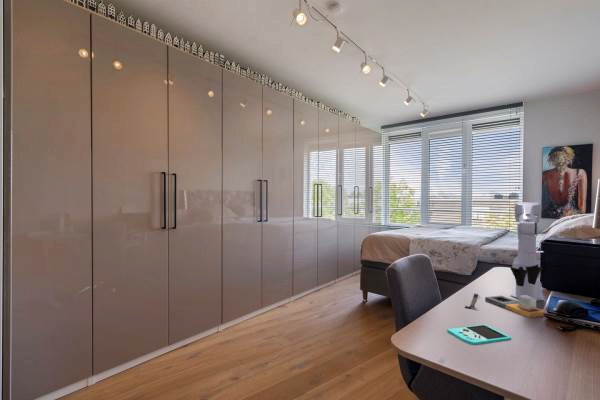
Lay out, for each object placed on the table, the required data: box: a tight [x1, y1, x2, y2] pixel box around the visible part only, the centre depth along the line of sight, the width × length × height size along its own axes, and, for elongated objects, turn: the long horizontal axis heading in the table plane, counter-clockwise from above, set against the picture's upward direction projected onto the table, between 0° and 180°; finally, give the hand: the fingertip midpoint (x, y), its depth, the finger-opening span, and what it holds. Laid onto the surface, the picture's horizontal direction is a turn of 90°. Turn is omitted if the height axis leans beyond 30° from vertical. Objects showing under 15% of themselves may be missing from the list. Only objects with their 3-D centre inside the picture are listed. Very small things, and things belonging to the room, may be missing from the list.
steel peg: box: [518, 295, 537, 312], centre depth 117 cm, size 4×4×6 cm
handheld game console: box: [446, 324, 512, 345], centre depth 97 cm, size 10×16×1 cm, turn 105°
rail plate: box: [484, 295, 546, 319], centre depth 122 cm, size 9×19×2 cm, turn 16°
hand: (526, 284), depth 122 cm, fingers open, 7 cm apart
